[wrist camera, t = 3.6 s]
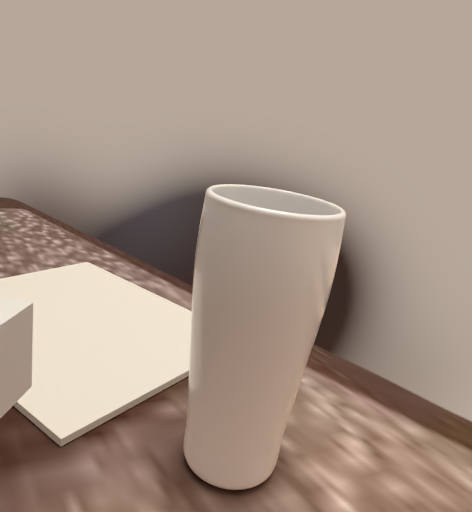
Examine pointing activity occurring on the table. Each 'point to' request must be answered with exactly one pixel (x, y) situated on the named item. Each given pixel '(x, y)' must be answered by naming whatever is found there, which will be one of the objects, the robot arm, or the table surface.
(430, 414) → the table surface
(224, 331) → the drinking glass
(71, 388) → the felt placemat
